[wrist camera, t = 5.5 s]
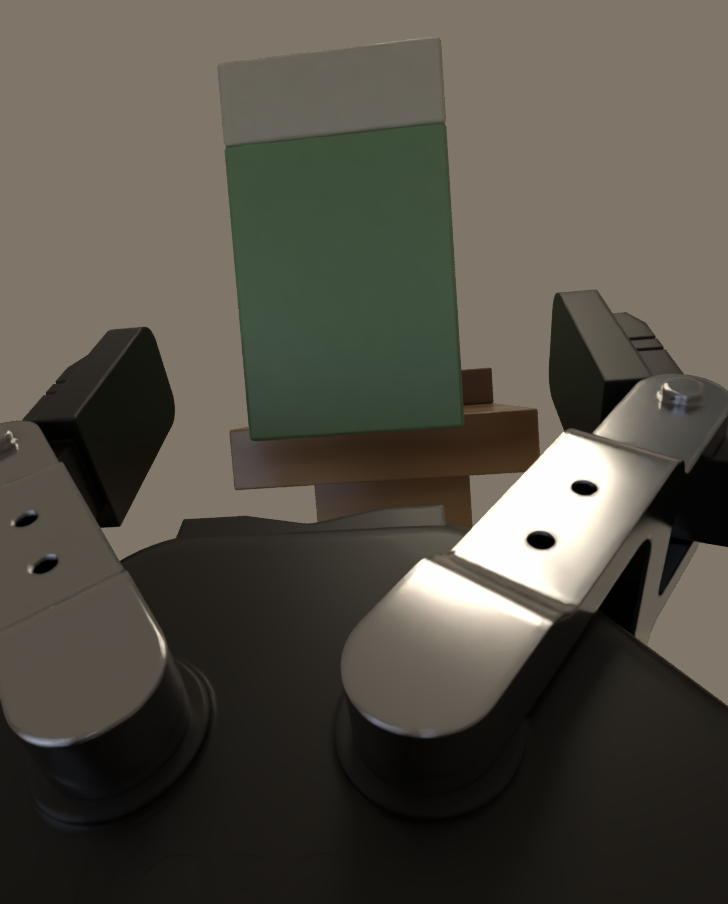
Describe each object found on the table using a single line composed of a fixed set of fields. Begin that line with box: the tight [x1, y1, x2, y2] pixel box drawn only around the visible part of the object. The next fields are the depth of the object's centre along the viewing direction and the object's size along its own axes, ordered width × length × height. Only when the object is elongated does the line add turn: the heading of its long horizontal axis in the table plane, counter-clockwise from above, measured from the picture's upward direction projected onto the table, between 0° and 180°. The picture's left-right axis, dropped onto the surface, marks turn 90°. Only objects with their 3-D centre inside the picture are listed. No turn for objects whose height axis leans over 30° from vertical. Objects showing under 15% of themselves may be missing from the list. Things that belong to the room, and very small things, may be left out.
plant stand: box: [230, 368, 540, 528], centre depth 29 cm, size 14×10×34 cm
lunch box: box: [218, 36, 464, 441], centre depth 23 cm, size 20×4×8 cm, turn 175°
